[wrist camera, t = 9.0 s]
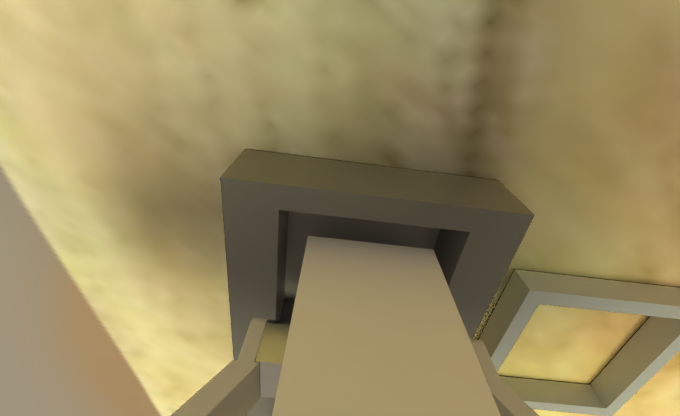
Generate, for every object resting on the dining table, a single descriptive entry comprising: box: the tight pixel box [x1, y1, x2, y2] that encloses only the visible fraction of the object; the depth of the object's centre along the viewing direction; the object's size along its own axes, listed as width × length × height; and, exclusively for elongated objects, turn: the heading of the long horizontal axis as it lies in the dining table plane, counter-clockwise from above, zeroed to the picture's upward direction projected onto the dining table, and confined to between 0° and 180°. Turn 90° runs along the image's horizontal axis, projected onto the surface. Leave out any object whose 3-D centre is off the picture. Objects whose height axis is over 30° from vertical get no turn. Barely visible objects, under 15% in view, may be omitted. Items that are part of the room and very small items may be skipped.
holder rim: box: [478, 269, 680, 416], centre depth 18 cm, size 10×10×2 cm
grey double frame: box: [220, 149, 534, 416], centre depth 15 cm, size 19×11×7 cm, turn 173°
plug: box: [272, 236, 501, 416], centre depth 10 cm, size 5×5×7 cm
